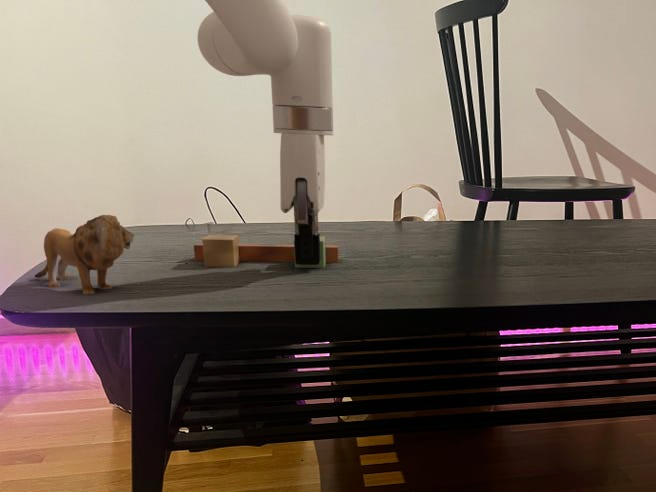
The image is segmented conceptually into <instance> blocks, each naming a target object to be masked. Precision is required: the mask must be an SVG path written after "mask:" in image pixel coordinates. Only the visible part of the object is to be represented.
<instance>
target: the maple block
mask: <svg viewBox="0 0 656 492" xmlns="http://www.w3.org/2000/svg"><path fill="white" fill-rule="evenodd" d="M201 241H202V244H203V254H204V261H203V264H204V267H215V268H217V267H219V268H220V267H221V268H222V267H225V268H228V267H229V268H230V267H231V268H235V267H236V266H237V265H238V264H239V263H240V262H241V261H240V258H239V244H240V243H239V235H237V234H233V235H232V234H208V235H207V236H205V237H204V238H202V240H201Z"/></svg>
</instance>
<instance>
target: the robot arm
mask: <svg viewBox="0 0 656 492" xmlns="http://www.w3.org/2000/svg"><path fill="white" fill-rule="evenodd" d="M204 1H205V2H206V4H207V5H208V6H209V7H210V9H211V10H212V12H210V13H209V14H208V15H207V16H206V17H205V18H204V19H203V20H202V21H201V23H200V24H199V27H198V31H197V46H198V48H199V49H198V50H199V51H200V53H201V56H202V58H203V59H204V60H205V61H206V62H207V63H208V64H209V65H210V66H211V67H212V68H213V69H215V70H217V71H218V72H221V74H224V75H228V76H232V77H233V76H234V77H247V76H259V75H260V76H262V75H265V76H266V75H268V76H270V85H271V105H272V109H271V110H272V127H273V134H280V144H279V145H280V147H279V177H280V179H279V180H280V184H279V189H280V196H279V197H280V198H279V199H280V211H282V213H284V214H287V213H289V212H290V211H291V210H292V209H293V219H294V235H293V236H294V237H293V238H294V240H293V242H294V241H295V262H296V264H298V265H318V264H319V262H320V237H321V235H320V234H321V233H319V212H320V211H322V209H323V208H324V205H325V192H326V191H325V189H326V188H325V187H326V157H325V156H326V155H325V152H326V151H325V136H334V110H333V108H334V106H333V62H332V61H333V59H332V58H333V57H332V53H333V52H332V32H331V28H330V26H329V25H328V23H327V22H326V20H323V19H322V18H319V17H314V16H309V15H300V14H291V13H290V11H289V9H288V7H287V6H286V2H284V0H204ZM295 262H294V263H295Z"/></svg>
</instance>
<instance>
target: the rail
mask: <svg viewBox="0 0 656 492" xmlns="http://www.w3.org/2000/svg"><path fill="white" fill-rule="evenodd" d="M325 250H326V263H333V264H334V263H336V264H337V263H339V259H340V258H339V246H338V245H325ZM193 252H194V261H195V262H204V254H203V243H195V244H193ZM239 258H240V262H258V263H259V262H263V263H265V262H266V263H267V262H268V263H276V262H277V263H295V257H294V244H251V243H250V244H249V243H247V244H245V243H244V244H243V243H239Z"/></svg>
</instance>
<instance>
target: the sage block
mask: <svg viewBox="0 0 656 492" xmlns="http://www.w3.org/2000/svg"><path fill="white" fill-rule="evenodd" d="M293 245H294V257H295V241H294V240H293ZM325 246H326V237H325V236H320V262H319V264H318V265H298V264H296V262H294V268H301V269H302V268H305V269H306V268H308V269H309V268H310V269H311V268H312V269H313V268H314V269H324V268H325V267H326V263H327V262H326V250H325Z"/></svg>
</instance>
